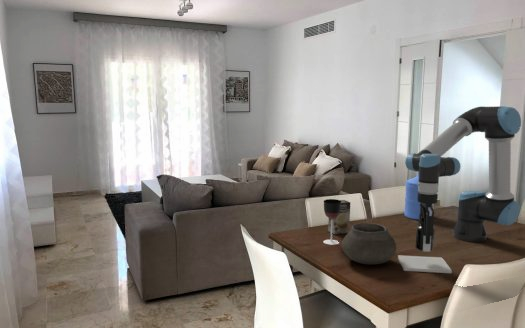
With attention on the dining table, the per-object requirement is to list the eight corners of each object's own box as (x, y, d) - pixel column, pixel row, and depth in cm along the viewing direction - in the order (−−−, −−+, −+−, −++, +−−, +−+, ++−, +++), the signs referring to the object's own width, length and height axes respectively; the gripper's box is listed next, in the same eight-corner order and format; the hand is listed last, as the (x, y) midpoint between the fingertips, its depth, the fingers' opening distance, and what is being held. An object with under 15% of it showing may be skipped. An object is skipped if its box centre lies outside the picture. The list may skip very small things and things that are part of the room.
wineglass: (341, 240, 205) (343, 200, 202) (337, 246, 197) (338, 204, 194) (325, 238, 208) (326, 198, 205) (320, 243, 200) (321, 202, 198)
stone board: (441, 260, 179) (442, 257, 179) (451, 273, 166) (451, 270, 166) (397, 258, 182) (398, 255, 182) (403, 270, 168) (403, 267, 168)
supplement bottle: (431, 253, 168) (433, 223, 166) (413, 249, 172) (415, 221, 170) (434, 248, 174) (436, 219, 172) (417, 245, 177) (418, 217, 176)
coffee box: (333, 234, 214) (334, 203, 212) (327, 231, 220) (328, 200, 218) (349, 232, 217) (350, 202, 215) (343, 229, 223) (344, 199, 221)
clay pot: (362, 275, 164) (363, 237, 162) (332, 256, 183) (333, 223, 181) (406, 266, 173) (408, 230, 170) (373, 250, 192) (374, 217, 190)
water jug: (406, 219, 242) (409, 171, 238) (402, 212, 257) (404, 167, 253) (435, 221, 239) (438, 172, 235) (429, 213, 255) (432, 167, 251)
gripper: (412, 187, 180) (409, 239, 183) (423, 197, 160) (419, 255, 164) (431, 188, 179) (428, 240, 182) (444, 198, 159) (440, 257, 163)
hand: (424, 247), depth 173 cm, fingers closed on supplement bottle, 7 cm apart
